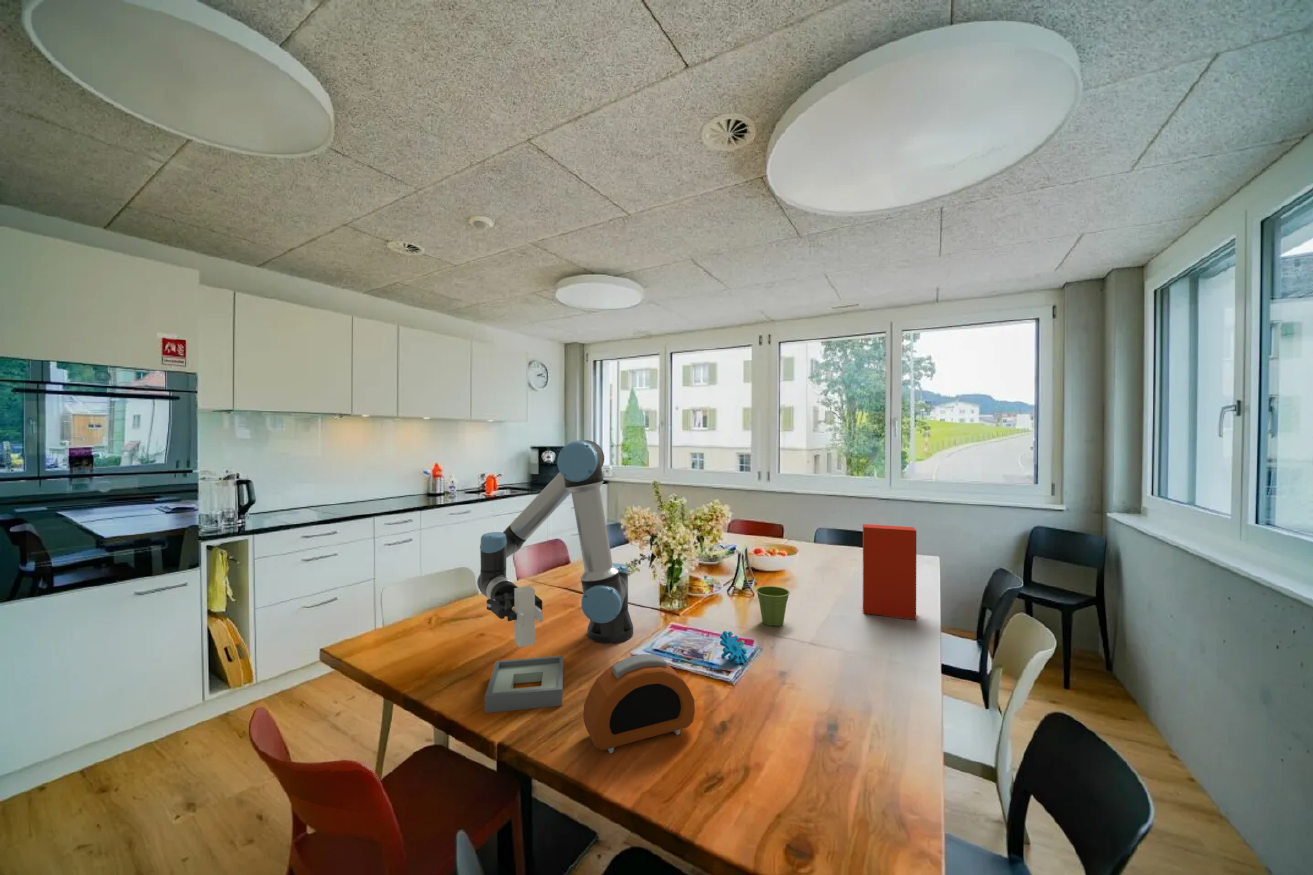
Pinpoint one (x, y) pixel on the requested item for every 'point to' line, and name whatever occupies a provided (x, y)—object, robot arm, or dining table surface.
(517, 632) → the peg
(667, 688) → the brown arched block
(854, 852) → the dining table surface
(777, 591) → the plant pot
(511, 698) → the bore box
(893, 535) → the file binder
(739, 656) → the gear
